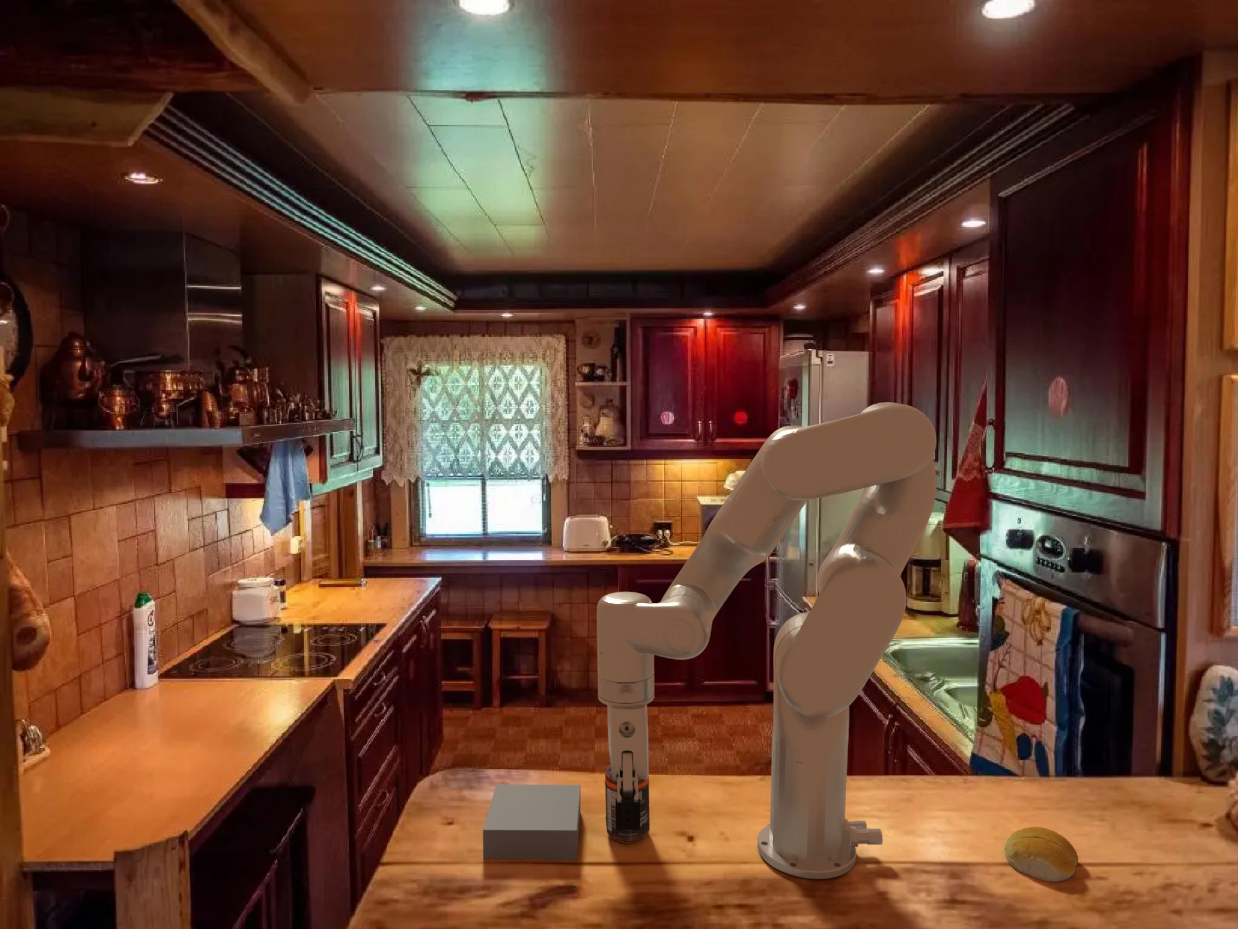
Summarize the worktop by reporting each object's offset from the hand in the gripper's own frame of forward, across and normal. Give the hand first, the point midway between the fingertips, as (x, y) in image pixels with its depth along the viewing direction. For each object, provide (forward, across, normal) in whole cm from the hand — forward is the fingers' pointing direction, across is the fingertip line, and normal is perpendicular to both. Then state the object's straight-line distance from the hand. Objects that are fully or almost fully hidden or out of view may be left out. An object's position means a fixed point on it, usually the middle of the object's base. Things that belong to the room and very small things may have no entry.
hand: (627, 814), depth 111 cm
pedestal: (+3, 0, +13) cm, 13 cm away
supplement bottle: (+3, 0, 0) cm, 3 cm away
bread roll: (+5, -6, -53) cm, 54 cm away
